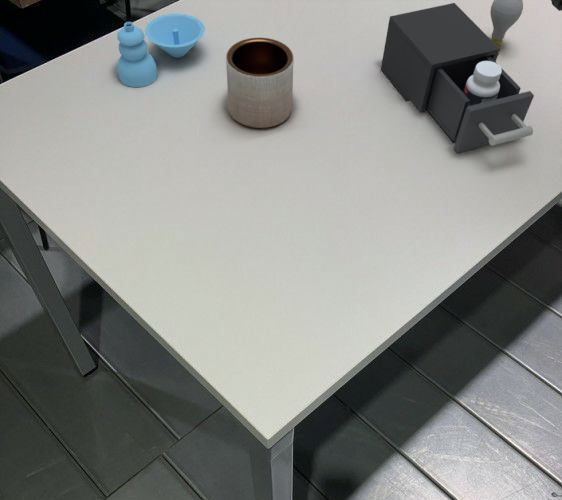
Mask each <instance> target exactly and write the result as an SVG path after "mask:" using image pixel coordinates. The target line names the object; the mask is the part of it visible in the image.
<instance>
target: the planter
mask: <svg viewBox="0 0 562 500" xmlns="http://www.w3.org/2000/svg"><path fill="white" fill-rule="evenodd" d="M294 61H295V59H294V53H293V51H292V50H291V48H290V47H288V46H287V44H285V43H284V42H281V41H279V40H276V39H273V38H268V37H250V38H246V39H242V40H240V41H237V42H236V43H234V44H232V45H231V46H230V48H229V49H228V50H227V52H226V55H225V63H226V64H225V65H226V86H227V87H226V88H227V89H226V90H227V91H226V92H227V108H228V112H229V114H230V116H231V118H233V120H235V121H236V122H238V123H239V124H241V125H244V126H246V127H250V128H254V129H266V128H273V127H276V126H278V125H280V124H282V123H284V122H285V121H287V119H288V118H289V117H290V116H291V113H292V110H293V98H294V97H293V95H294V94H293V93H294V92H293V91H294V89H293V88H294Z"/></svg>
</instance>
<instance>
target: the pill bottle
mask: <svg viewBox="0 0 562 500" xmlns="http://www.w3.org/2000/svg"><path fill="white" fill-rule="evenodd" d="M501 68H502V67H501V65H500V64H498V63H497V62H496V63H495V62H491V61H482V62H479V63H478V64H477V65H476V68H475V71H474V74H473V75H472V76H470V77H469V78H468V80H467V82H466V85H465V89H464V92H463V93H464V94H465V96H466V97H467V98H468V99H469V100H470V103H469V106H473V105H477V104H480V103H484V102H488V101H492V100H496V98H497V96H498V93H499V89H500V84H499V81H498V80H499V79H500V75H501V72H502V69H503V68H502V69H501ZM469 106H468V107H469Z"/></svg>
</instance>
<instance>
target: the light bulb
mask: <svg viewBox="0 0 562 500" xmlns="http://www.w3.org/2000/svg"><path fill="white" fill-rule="evenodd" d="M523 10H524V1H523V0H493V2H492V3H491V6H490V19H491V23H492V28H493V29H492V32H491V38H490V39H491V40H492V41H493V42H494V43H495V44H496V45H497V46H498V47H499V48H500V47H501V45H502V42H503V39H504V38H505V36H506V33H507V31H509V29H510V28H511V27H512V26H513V25H515V23H516V22H517V21H518V20H519V19H520V17H521V15H522V13H523Z"/></svg>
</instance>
